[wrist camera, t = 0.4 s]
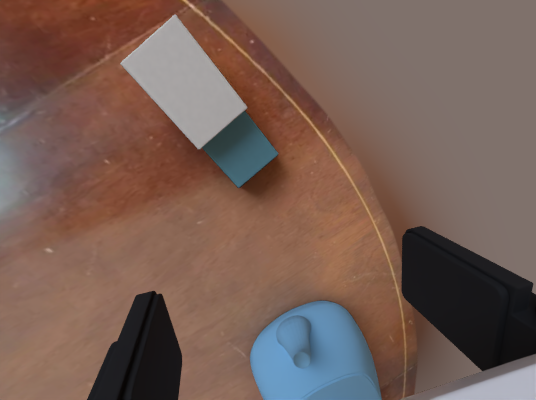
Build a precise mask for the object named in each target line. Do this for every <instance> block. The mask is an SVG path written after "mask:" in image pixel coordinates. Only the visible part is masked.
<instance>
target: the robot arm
mask: <svg viewBox="0 0 536 400" xmlns="http://www.w3.org/2000/svg"><path fill="white" fill-rule="evenodd" d="M532 287H533V283H532V282H530V281H528V280H526V279H524V278H522V277H520V276H518V275H516V274H514V273H512V272H511V271H509V270H507V269H505V268H503V267H501V266H499V265H497V264H495V263H493V262H491V261H489V260H487V259H485V258H483V257H482V256H480V255H478V254H476V253H474V252H472V251H470V250H468V249H466V248H464V247H462V246H460V245H458V244H456V243H454V242H453V241H451V240H449V239H447V238H445V237H443V236H441V235H439V234H437V233H435V232H433V231H431V230H429V229H427V228H425V227H422V226H420V227H416V228H411V229H408V230H406V232H405V234H404V235H403V238H402V294H403V296H404V298H405V299H406V300H407V301H408V302H409V303H410V304H411V305H412V306H413V307H414V308H415V309H417V310H418V311H419V312H420V313H421V314H422V315H423V316H424V317H425V318H426V319H427V320H428V321H430V323H431V324H433V325H434V326H435V327H436V328H437V329H438V330H439V331H440V332H441V333H442V334H443V335H444V336H445V337H446V338H447V339H449V340H450V341H451V342H452V343H453V344H454V345H455V346H456V347H457V348H458V349H459V350H460V351H462V352H463V353H464V354H465V355H466V356H467V357H468V358H469V359H470V360H471V361H472V362H473V363H474V364H475V365H476V366H478V368H480V369H481V370H482V372H479V373H476V374H473V375H470V376H467V377H464V378H462V379H458V380H456V381H452V382H449V383H447V384H444V385H440V386H438V387H435V388H432V389H429V390H426V391H423V392H420V393H417V394H414V395H411V396H408V397H405V398H403V399H400V400H536V294H534V293H532ZM181 368H182V354H181V350H180V347H179V344H178V341H177V338H176V335H175V332H174V329H173V326H172V323H171V320H170V317H169V314H168V311H167V307H166V304H165V301H164V298H163V296H162V294H156V292H155V291H151V292H147V293H143V294H139V295H136V297H135V299H134V302H133V304H132V307H131V309H130V311H129V314H128V316H127V319H126V321H125V324H124V326H123V329H122V331H121V333H120V336H119V338H118V341H116V342H114V343H113V344H112V345H111V346H110V348H109V350H108V353H107V355H106V357H105V359H104V362H103V364H102V366H101V369H100V371H99V373H98V376H97V378H96V380H95V383H94V385H93V387H92V390H91V392H90V394H89V397H88V399H87V400H178V395H179V386H180V377H181Z"/></svg>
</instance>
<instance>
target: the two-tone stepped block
mask: <svg viewBox="0 0 536 400" xmlns="http://www.w3.org/2000/svg"><path fill="white" fill-rule="evenodd" d="M120 64H121V65H122V66H123V67H124V68H125V70H126V71H127V72H128V73H129V74H130V75H131V76H132V77H133V78H134V79H135V81H136V82H137V83H138V84H139V85H140V86H141V87H142V88H143V89H144V90H145V91H146V93H147V94H148V95H149V96H150V97H151V98H152V99H153V100H154V101H155V102H156V104H157V105H158V106H159V107H160V108H161V109H162V110H163V111H164V112H165V113H166V115H167V116H168V117H169V118H170V119H171V120H172V121H173V122H174V123H175V124H176V125H177V127H178V128H179V129H180V130H181V131H182V132H183V133H184V134H185V135H186V136H187V138H188V139H189V140H190V141H191V142H192V143H193V144H194V145H195V146H196V147H197V149H201V148H203V150H204V151H205V152H206V153H207V154H208V155H209V156H210V157H211V158H212V160H213V161H214V162H215V163H216V164H217V165H218V166H219V167H220V168H221V169H222V171H223V172H224V173H225V174H226V175H227V176H228V177H229V178H230V179H231V181H232V182H233V183H234V184H235V185H236V186H237V187H238V188H240V187H241V186H243V185H244V184H245V183H246V182H247V181H248V180H250V179H251V178H252V177H253V176H254V175H255V174H257V173H258V172H259V171H260V170H261V169H262V168H264V167H265V166H266V165H267V164H268V163H270V162H271V161H272V160H273V159H274V158H275V157H277V156H278V152H277V151H276V150H275V149H274V147H273V146H272V145H271V143H270V142H269V141H268V140H267V138H266V137H265V136H264V134H263V133H262V132H261V131H260V129H259V128H258V127H257V126H256V124H255V123H254V122H253V120H252V119H251V118H250V117H249V115H248V114H247V113H246V111H245V110H246V109H247V106H246V105H245V103H244V102H243V101H242V99H241V98H240V97H239V96H238V94H237V93H236V92H235V90H234V89H233V88H232V87H231V85H230V84H229V83H228V81H227V80H226V79H225V78H224V76H223V75H222V74H221V72H220V71H219V70H218V68H217V67H216V66H215V65H214V63H213V62H212V61H211V59H210V58H209V57H208V56H207V54H206V53H205V52H204V50H203V49H202V48H201V47H200V45H199V44H198V43H197V41H196V40H195V39H194V37H193V36H192V35H191V34H190V32H189V31H188V30H187V28H186V27H185V26H184V25H183V23H182V22H181V21H180V19H179V18H178V17H177V16H176V15H174V16H173V17H171V18H170V19H169V20H168V21H167V22H166V23H165V24H164V25H162V26H161V27H160V28H159V29H158V30H157V31H156V32H155V33H153V34H152V35H151V36H150V37H149V38H148V39H147V40H146V41H145V42H143V43H142V44H141V45H140V46H139V47H138V48H137V49H136V50H134V51H133V52H132V53H131V54H130V55H129V56H128V57H127V58H125V59H124V60H123V61H122V62H121V63H120Z"/></svg>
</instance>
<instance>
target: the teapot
mask: <svg viewBox="0 0 536 400" xmlns="http://www.w3.org/2000/svg"><path fill="white" fill-rule="evenodd" d="M250 363H251V368H252V372H253V375H254V378H255V381H256V383H257V386H258V388H259V391H260V393H261V395H262V397H263V399H264V400H382V398H381V393H380V387H379V383H378V378H377V373H376V369H375V365H374V361H373V358H372V355H371V352H370V349H369V347H368V344H367V342H366V340H365V338H364V336H363V334H362V332H361V330H360V328H359V327H358V325H357V324H356V322H355V320H354V319H353V317H352V316H351V315H350V313H349V312H348V311H347V310H346V309H345V308H344V307H342V306H341V305H339V304H336V303H334V302H330V301H315V302H311V303H307V304H304V305H301V306H298V307H296V308H294V309H291V310H289V311H287V312H286V313H284V314H282V315H281V316H279V317H278V318H277V319H275V320H274V321H273V322H271V323H270V324H269V325H268V326H267V327H266V328H265V329H264V330H263V331H262V332H261V333H260V334H259V336H258V337H257V339H256V340H255V342H254V345H253V347H252V350H251V355H250Z"/></svg>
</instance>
